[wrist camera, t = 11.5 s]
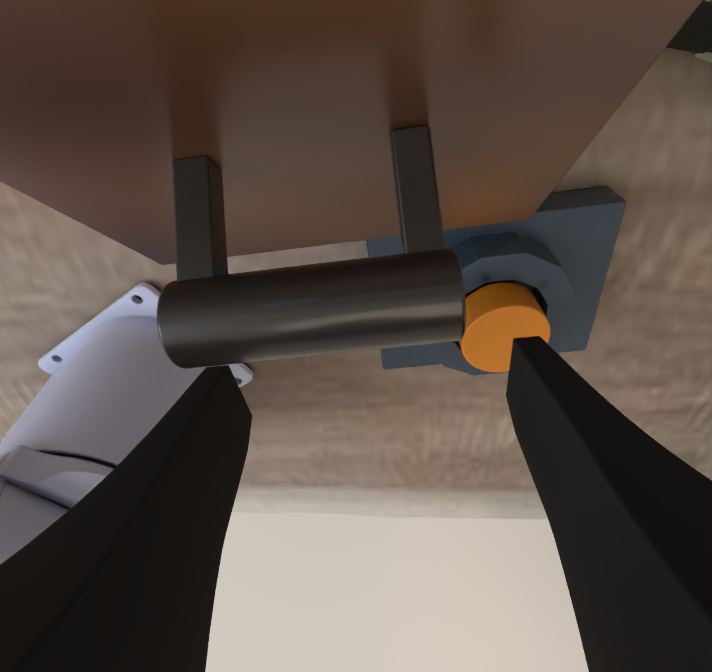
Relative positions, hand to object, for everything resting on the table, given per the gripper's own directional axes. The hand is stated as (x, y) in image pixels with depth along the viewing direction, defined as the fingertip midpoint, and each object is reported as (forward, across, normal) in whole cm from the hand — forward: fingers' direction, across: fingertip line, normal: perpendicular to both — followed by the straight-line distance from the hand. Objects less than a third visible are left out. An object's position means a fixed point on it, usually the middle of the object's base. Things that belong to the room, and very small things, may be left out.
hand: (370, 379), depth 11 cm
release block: (+10, -5, +4) cm, 12 cm away
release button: (+7, -5, +4) cm, 10 cm away
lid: (0, +1, -7) cm, 7 cm away
